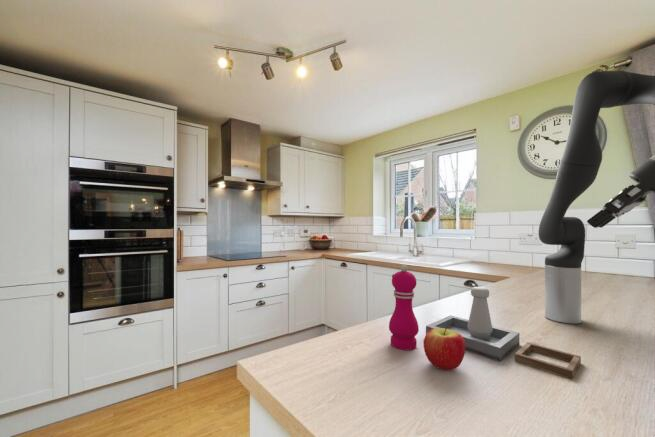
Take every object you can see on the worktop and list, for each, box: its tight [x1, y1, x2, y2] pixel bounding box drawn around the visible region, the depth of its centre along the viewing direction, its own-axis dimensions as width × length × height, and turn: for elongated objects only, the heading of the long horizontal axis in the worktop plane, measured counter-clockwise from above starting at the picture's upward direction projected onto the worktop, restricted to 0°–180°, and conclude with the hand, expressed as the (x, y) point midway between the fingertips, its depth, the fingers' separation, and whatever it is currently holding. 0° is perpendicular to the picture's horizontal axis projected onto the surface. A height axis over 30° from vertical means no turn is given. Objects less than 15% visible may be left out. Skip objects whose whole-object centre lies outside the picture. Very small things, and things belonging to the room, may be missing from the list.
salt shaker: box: [468, 286, 493, 340], centre depth 77 cm, size 6×6×13 cm
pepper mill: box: [388, 264, 420, 351], centre depth 73 cm, size 7×7×20 cm
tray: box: [425, 315, 520, 362], centre depth 76 cm, size 14×18×3 cm
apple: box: [423, 322, 466, 371], centre depth 62 cm, size 8×8×10 cm
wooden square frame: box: [514, 341, 582, 379], centre depth 65 cm, size 10×10×2 cm
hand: (593, 225), depth 67 cm, fingers open, 8 cm apart
